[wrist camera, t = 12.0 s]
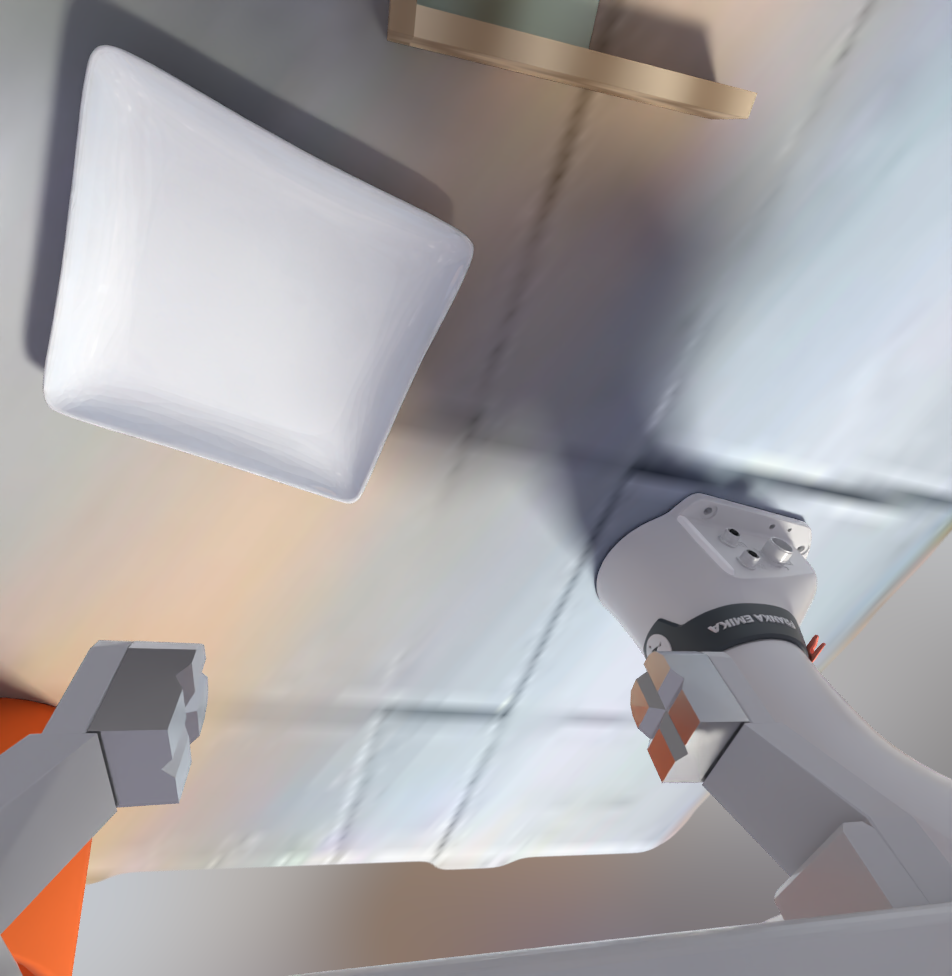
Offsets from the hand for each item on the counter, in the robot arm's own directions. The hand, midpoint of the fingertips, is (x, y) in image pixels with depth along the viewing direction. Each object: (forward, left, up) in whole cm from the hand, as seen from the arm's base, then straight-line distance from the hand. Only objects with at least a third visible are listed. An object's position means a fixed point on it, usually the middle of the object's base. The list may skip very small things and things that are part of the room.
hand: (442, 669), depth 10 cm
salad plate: (+8, +4, -33) cm, 34 cm away
